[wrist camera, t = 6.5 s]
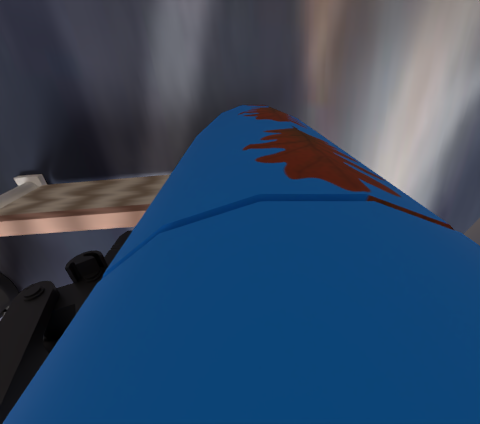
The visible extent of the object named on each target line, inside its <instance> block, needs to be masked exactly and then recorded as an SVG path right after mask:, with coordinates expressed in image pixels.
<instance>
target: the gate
mask: <svg viewBox="0 0 480 424" xmlns="http://www.w3.org/2000/svg"><path fill="white" fill-rule="evenodd" d="M169 176H170V175H161V176H148V177H136V178H124V179H112V180H100V181H87V182H75V183H63V184H51V185H42V186H40V187H38V188H37V189H35V190H33V191H31V192H29V193H28V194H26V195H24V196H22V197H20V198H19V199H17V200H15V201H13V202H11V203H10V204H8V205H6V206H4V207H3V208H1V209H0V237H1V236H15V235H28V234H41V233H55V232H68V231H81V230H95V229H108V228H121V227H135V226H136V225H137V224H138V222H139V221H140V219H141V218H142V216H143V215H144V213H145V212H146V210H147V209H148V207H149V206H150V204H151V203H152V201H153V200H154V198H155V197H156V195H157V194H158V193H159V191H160V190H161V188H162V187H163V185H164V184H165V182H166V181H167V179H168V178H169Z"/></svg>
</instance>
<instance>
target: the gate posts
mask: <svg viewBox="0 0 480 424" xmlns="http://www.w3.org/2000/svg"><path fill="white" fill-rule="evenodd" d="M14 180H15V182H16V183H17V185H18V187H16V188H14V189H12V190H10V191H8V192H6V193H4V194H2V195H0V209H1V208H3V207H4V206H6V205H8V204H10V203H11V202H13V201H15V200H17V199H19V198H20V197H22V196H24V195H26V194H28V193H29V192H31V191H33V190H35V189H37V188H38V187H40V186H42V185H47V183H46V181H45V179H44V177H43V175H42V174H35V175H23V176H17V177H15V178H14Z"/></svg>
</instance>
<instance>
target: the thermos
mask: <svg viewBox="0 0 480 424" xmlns="http://www.w3.org/2000/svg"><path fill="white" fill-rule="evenodd" d="M2 424H480V246H479V245H478V244H476V243H475V242H474V241H472V240H471V239H469V238H468V237H466V236H465V235H464V234H462V233H460V232H457V231H455V230H454V229H453V228H452V227H451V226H450V225H449V224H448V223H446V222H445V221H444V220H442V219H441V218H439V217H438V216H436V215H435V214H434V213H432V212H431V211H429V210H428V209H426V208H425V207H423V206H422V205H421V204H419V203H418V202H416V201H415V200H413V199H412V198H411V197H409V196H408V195H406V194H405V193H403V192H402V191H401V190H399V189H398V188H396V187H395V186H393V185H392V184H391V183H389V182H388V181H386V180H385V179H383V178H382V177H380V176H379V175H378V174H376V173H375V172H373V171H372V170H370V169H369V168H368V167H366V166H365V165H363V164H362V163H360V162H359V161H358V160H356V159H355V158H353V157H352V156H350V155H349V154H348V153H346V152H345V151H343V150H342V149H340V148H339V147H337V146H336V145H335V144H333V143H332V142H330V141H329V140H327V139H326V138H325V137H323V136H322V135H320V134H319V133H317V132H316V131H315V130H313V129H312V128H310V127H309V126H307V125H306V124H305V123H303V122H302V121H300V120H299V119H297V118H295V117H293V116H290V115H288V114H285V113H283V112H281V111H278V110H276V109H273V108H271V107H268V106H266V105H241V106H238V107H236V108H233V109H231V110H228V111H226V112H223V113H221V114H220V115H219V116H218V117H217V118H216V119H215V120H213V121H212V122H211V123H210V124H209V125H208V126H207V127H206V128H205V129H204V130H203V131H202V132H201V133H200V134H198V135H197V136H196V138H195V139H194V141H193V142H192V144H191V145H190V147H189V148H188V150H187V151H186V153H185V154H184V156H183V157H182V158H181V160H180V161H179V163H178V164H177V166H176V167H175V169H174V170H173V172H172V173H171V175H170V176H169V178H168V179H167V181H166V182H165V184H164V185H163V187H162V188H161V190H160V191H159V193H158V194H157V195H156V197H155V198H154V200H153V201H152V203H151V204H150V206H149V207H148V209H147V210H146V212H145V213H144V215H143V216H142V218H141V219H140V221H139V222H138V224H137V225H136V227H135V228H134V229H133V231H132V232H131V234H130V235H129V237H128V238H127V240H126V241H125V243H124V244H123V246H122V247H121V249H120V250H119V252H118V253H117V255H116V256H115V258H114V259H113V261H112V262H111V264H110V265H109V266H108V268H107V269H106V271H105V272H104V275H103V277H102V279H101V280H100V281H99V282H98V283H97V284H96V286H95V287H94V289H93V290H92V292H91V293H90V295H89V296H88V298H87V299H86V300H85V302H84V303H83V305H82V306H81V308H80V309H79V311H78V312H77V314H76V315H75V317H74V318H73V320H72V321H71V323H70V324H69V326H68V327H67V329H66V330H65V332H64V333H63V335H62V336H61V337H60V339H59V340H58V342H57V343H56V345H55V346H54V348H53V349H52V351H51V352H50V354H49V355H48V357H47V358H46V360H45V361H44V363H43V364H42V366H41V367H40V369H39V370H38V371H37V373H36V374H35V376H34V377H33V379H32V380H31V382H30V383H29V385H28V386H27V388H26V389H25V391H24V392H23V394H22V395H21V397H20V398H19V400H18V401H17V403H16V404H15V406H14V407H13V408H12V410H11V411H10V413H9V414H8V416H7V417H6V419H5V420H4V422H3V423H2Z"/></svg>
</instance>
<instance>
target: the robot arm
mask: <svg viewBox="0 0 480 424" xmlns="http://www.w3.org/2000/svg"><path fill="white" fill-rule="evenodd" d="M131 232H132V231H127V232H125V233H124V234H123V235H121V236H120V237H119V238H118V239H117V241H116V242H115V244H114V245H113V246H112V248H111V250H109V252H108V253H107V254H106V256H105V257H103V255H102V253H101V252H99V251H88V252H85V253H82V254H80V255H78V256H76V257H74V258H73V259H71V260H70V261H69V262H68V263H67V265H66V267H65V269H66V271H67V273H68V274H69V276H70V278H71V279H72V281H73V284H69V285H66V286H62V287H59V288H56V287H55V285H54V284H53V283H52V282H51V281H42V282H38V283H35V284H32V285H30V286H28V287H27V288H25V289H24V290H23V291H21V292H20V293H18V290H17V289H16V287H15V286H14V284H13V283H12V282H11V281H10V280H9V279H7V278H6V277H5V276H3V275H2V274H0V318H1V317H3V318H2V319H1V321H0V424H2V423H3V422H4V420H5V419H6V417H7V416H8V414H9V413H10V411H11V410H12V408H13V407H14V406H15V404H16V403H17V401H18V400H19V398H20V397H21V395H22V394H23V392H24V391H25V389H26V388H27V386H28V385H29V383H30V382H31V380H32V379H33V377H34V376H35V374H36V373H37V371H38V370H39V369H40V367H41V366H42V364H43V363H44V361H45V360H46V358H47V357H48V355H49V354H50V352H51V351H52V349H53V348H54V346H55V345H56V343H57V342H58V340H59V339H60V337H61V336H62V335H63V333H64V332H65V330H66V329H67V327H68V326H69V324H70V323H71V321H72V320H73V318H74V317H75V315H76V314H77V312H78V311H79V309H80V308H81V306H82V305H83V303H84V302H85V300H86V299H87V298H88V296H89V295H90V293H91V292H92V290H93V289H94V287H95V286H96V284H97V283H98V282H99V281H100V280H101V279H102V277H103V275H104V272H105V271H106V269H107V268H108V266H109V265H110V264H111V262H112V261H113V259H114V258H115V256H116V255H117V253H118V252H119V250H120V249H121V247H122V246H123V244H124V243H125V241H126V240H127V238H128V237H129V235H130V234H131Z"/></svg>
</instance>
